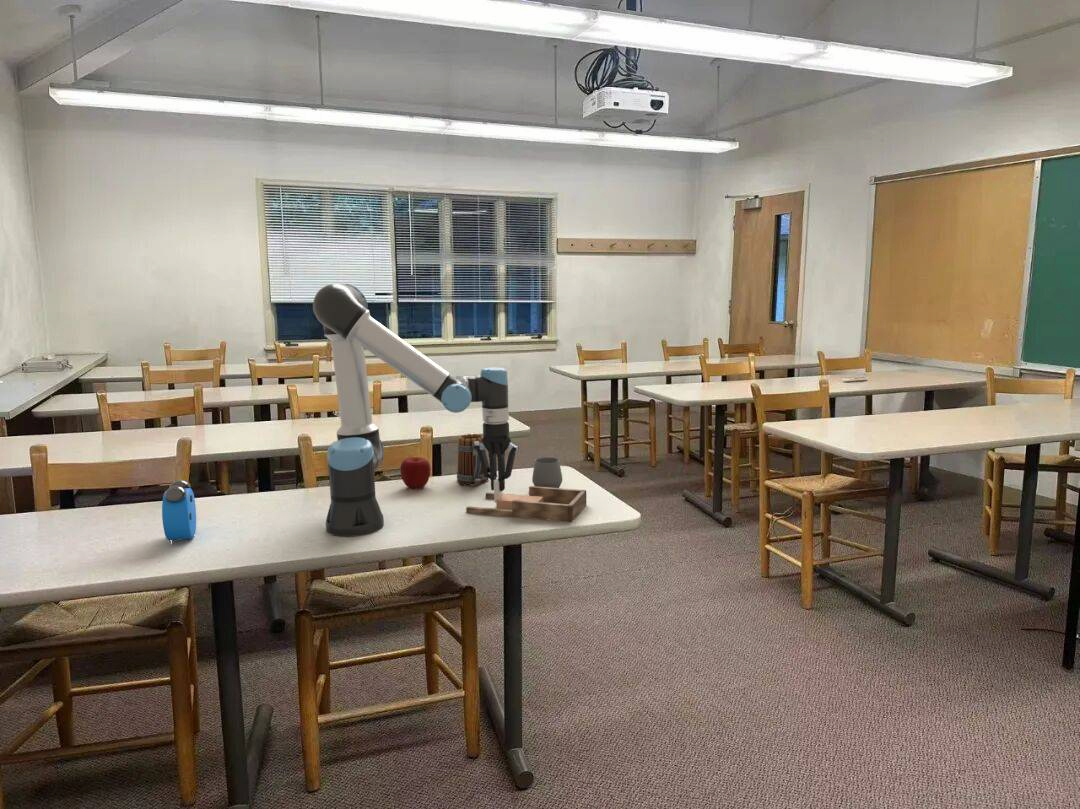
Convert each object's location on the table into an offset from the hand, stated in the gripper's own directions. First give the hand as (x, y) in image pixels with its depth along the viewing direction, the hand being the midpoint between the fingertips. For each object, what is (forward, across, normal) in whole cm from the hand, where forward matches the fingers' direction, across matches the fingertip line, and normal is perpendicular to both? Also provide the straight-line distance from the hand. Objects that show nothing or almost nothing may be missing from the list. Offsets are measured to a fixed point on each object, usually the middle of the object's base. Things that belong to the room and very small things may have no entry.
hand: (498, 501), depth 207 cm
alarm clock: (+2, -70, -47) cm, 84 cm away
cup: (+2, +9, +18) cm, 20 cm away
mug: (+2, -17, +21) cm, 27 cm away
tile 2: (+2, +10, 0) cm, 10 cm away
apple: (+2, -33, +11) cm, 35 cm away
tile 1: (+2, +4, 0) cm, 4 cm away
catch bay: (+2, +9, 0) cm, 9 cm away
